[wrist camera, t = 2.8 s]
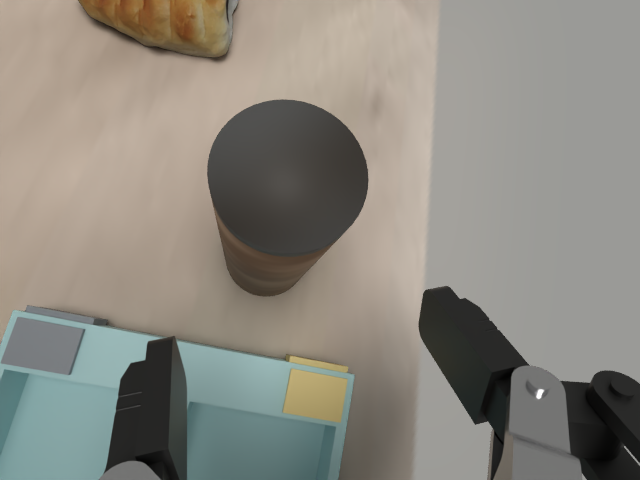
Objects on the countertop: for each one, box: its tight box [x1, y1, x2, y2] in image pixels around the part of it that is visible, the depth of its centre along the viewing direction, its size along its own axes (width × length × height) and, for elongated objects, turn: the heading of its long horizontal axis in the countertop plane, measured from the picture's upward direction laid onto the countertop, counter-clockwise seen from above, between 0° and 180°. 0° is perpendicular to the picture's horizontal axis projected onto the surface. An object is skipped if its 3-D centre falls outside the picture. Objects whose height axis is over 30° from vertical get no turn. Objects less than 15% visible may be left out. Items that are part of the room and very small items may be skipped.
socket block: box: [0, 305, 355, 480], centre depth 20 cm, size 16×10×3 cm, turn 79°
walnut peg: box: [207, 100, 368, 296], centre depth 18 cm, size 5×5×13 cm
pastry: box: [78, 0, 238, 57], centre depth 25 cm, size 9×7×4 cm
